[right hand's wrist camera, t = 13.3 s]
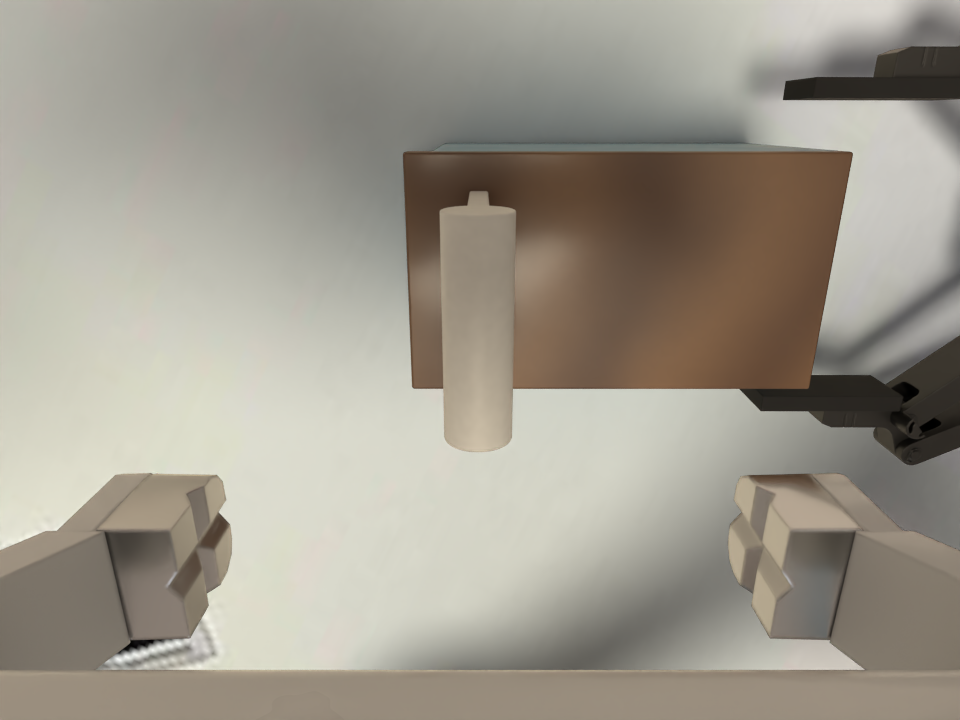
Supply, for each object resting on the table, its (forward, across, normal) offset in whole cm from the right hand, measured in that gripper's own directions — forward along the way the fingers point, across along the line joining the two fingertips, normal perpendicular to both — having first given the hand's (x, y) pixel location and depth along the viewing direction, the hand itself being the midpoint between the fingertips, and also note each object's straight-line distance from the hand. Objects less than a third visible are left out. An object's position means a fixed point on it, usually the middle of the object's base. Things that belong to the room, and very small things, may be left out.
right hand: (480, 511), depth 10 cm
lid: (+17, +5, 0) cm, 18 cm away
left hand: (+20, +13, 0) cm, 24 cm away
